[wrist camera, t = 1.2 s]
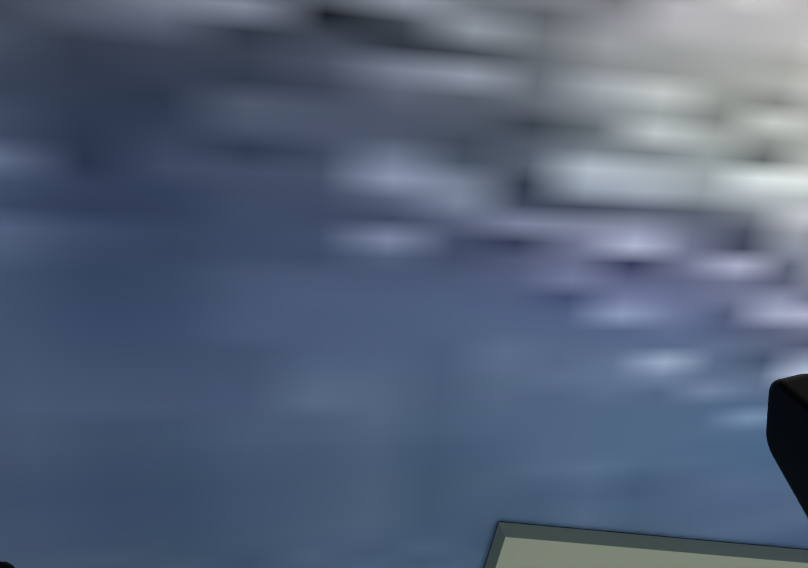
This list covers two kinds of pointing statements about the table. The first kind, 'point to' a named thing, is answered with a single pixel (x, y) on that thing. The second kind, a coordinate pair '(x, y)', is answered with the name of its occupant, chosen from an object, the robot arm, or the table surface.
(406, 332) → the table surface
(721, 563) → the mat
